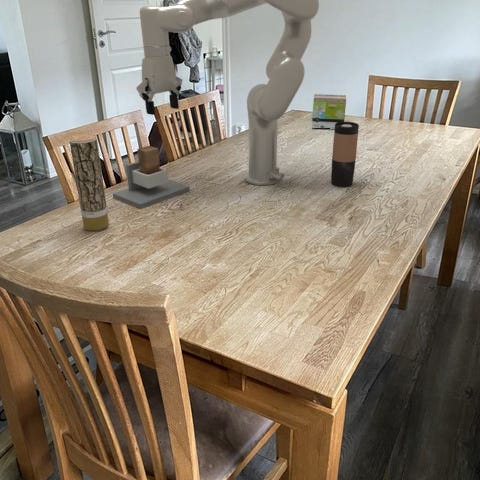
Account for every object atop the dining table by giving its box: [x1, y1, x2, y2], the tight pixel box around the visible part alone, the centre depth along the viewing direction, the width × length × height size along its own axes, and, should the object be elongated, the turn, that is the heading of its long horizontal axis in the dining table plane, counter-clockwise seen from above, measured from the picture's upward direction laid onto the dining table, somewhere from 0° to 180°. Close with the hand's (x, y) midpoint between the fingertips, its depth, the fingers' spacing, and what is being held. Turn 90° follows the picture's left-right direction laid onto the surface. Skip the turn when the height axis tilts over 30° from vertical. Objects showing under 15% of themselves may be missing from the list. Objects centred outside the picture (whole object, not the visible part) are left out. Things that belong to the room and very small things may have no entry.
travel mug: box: [330, 121, 360, 188], centre depth 161 cm, size 8×8×20 cm
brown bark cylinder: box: [68, 133, 110, 232], centre depth 131 cm, size 7×7×25 cm
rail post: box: [137, 145, 161, 175], centre depth 154 cm, size 4×4×10 cm
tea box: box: [311, 93, 347, 130], centre depth 233 cm, size 15×10×15 cm
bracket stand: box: [112, 160, 191, 210], centre depth 157 cm, size 14×20×10 cm
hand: (163, 111), depth 152 cm, fingers open, 9 cm apart
